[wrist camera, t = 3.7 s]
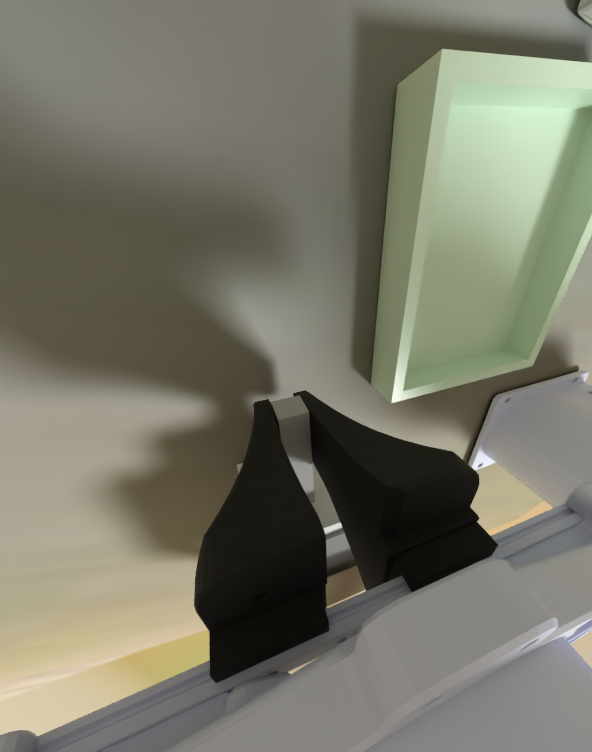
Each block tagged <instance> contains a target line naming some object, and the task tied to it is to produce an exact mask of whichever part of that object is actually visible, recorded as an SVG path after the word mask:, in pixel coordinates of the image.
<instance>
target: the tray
mask: <svg viewBox="0 0 592 752" xmlns="http://www.w3.org/2000/svg"><path fill="white" fill-rule="evenodd" d="M591 234H592V63H588V62H577V61H567V60H556V59H545V58H535V57H524V56H513V55H503V54H492V53H481V52H471V51H460V50H449V49H441V50H440V51H439V52H438V53H436V54H435V55H434V56H433V57H431V58H430V59H429V60H428V61H426V62H425V63H424V64H423V65H421V66H420V67H419V68H418V69H416V70H415V71H414V72H413V73H411V74H410V75H409V76H408V77H406V78H405V79H404V80H403V81H401V82H400V83H399V84H398V85H397V92H396V104H395V115H394V126H393V137H392V149H391V160H390V171H389V183H388V194H387V205H386V216H385V228H384V239H383V250H382V262H381V273H380V284H379V295H378V307H377V318H376V329H375V340H374V352H373V363H372V374H371V385H372V386H373V387H374V388H375V389H376V390H377V391H378V392H379V393H380V394H382V395H383V396H384V397H385V398H386V399H387V400H388V401H389V402H390V403H395V402H399V401H403V400H406V399H410V398H414V397H418V396H421V395H425V394H429V393H433V392H437V391H440V390H444V389H448V388H452V387H455V386H459V385H463V384H467V383H471V382H474V381H478V380H482V379H486V378H489V377H493V376H497V375H501V374H505V373H508V372H512V371H516V370H520V369H524V368H527V367H531V366H533V364H534V362H535V360H536V358H537V355H538V353H539V351H540V349H541V346H542V344H543V342H544V340H545V338H546V335H547V333H548V331H549V329H550V326H551V324H552V322H553V320H554V317H555V315H556V313H557V311H558V308H559V306H560V304H561V302H562V299H563V297H564V295H565V293H566V290H567V288H568V286H569V284H570V281H571V279H572V277H573V275H574V273H575V270H576V268H577V266H578V264H579V261H580V259H581V257H582V255H583V252H584V250H585V248H586V246H587V243H588V241H589V239H590V237H591Z"/></svg>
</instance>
